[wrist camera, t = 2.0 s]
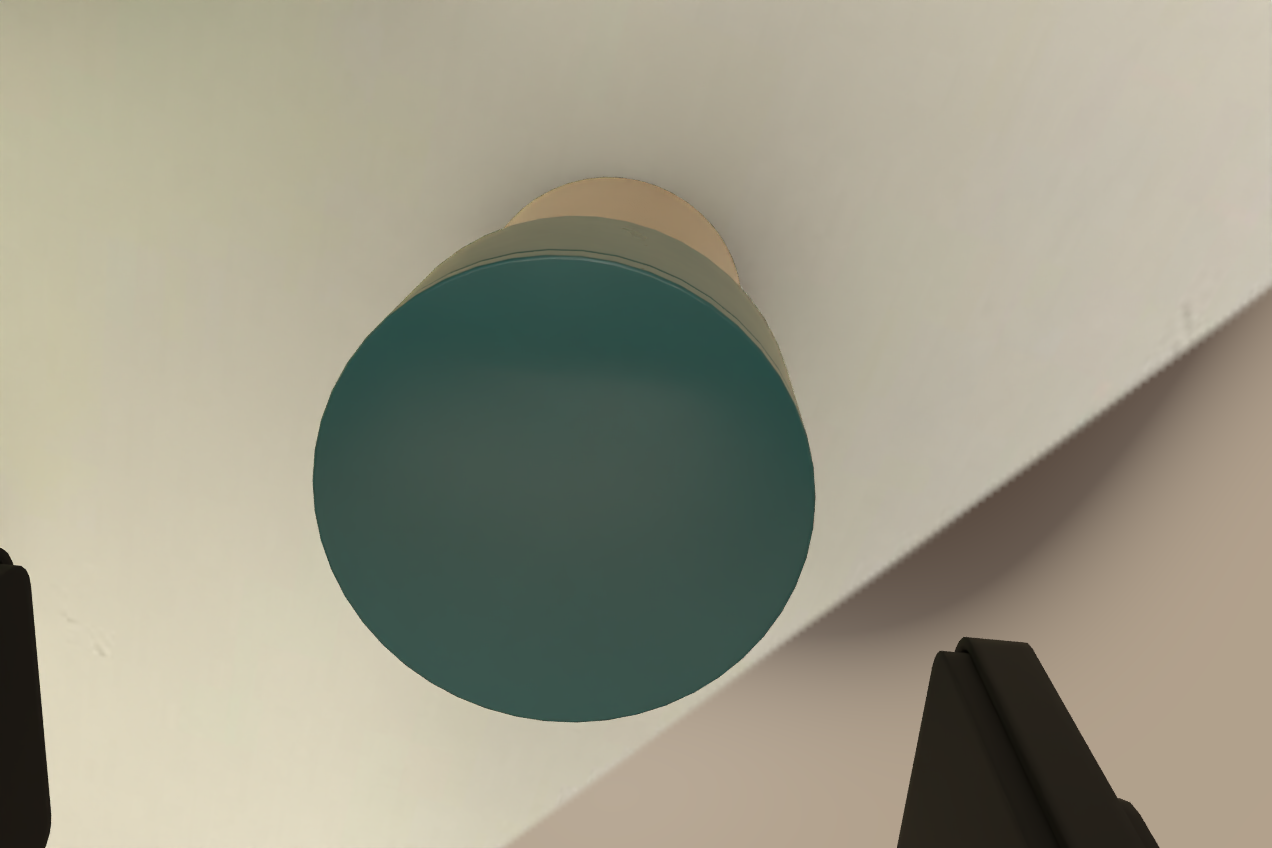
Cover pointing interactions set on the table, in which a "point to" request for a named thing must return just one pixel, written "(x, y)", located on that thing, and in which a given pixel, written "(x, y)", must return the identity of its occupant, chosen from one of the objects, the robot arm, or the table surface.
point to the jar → (633, 212)
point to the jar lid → (567, 473)
